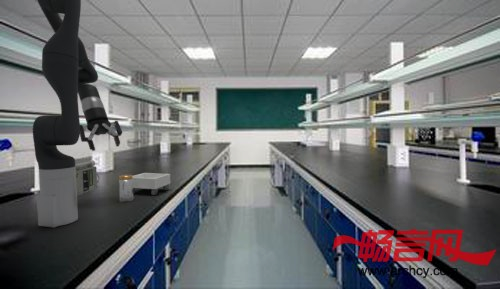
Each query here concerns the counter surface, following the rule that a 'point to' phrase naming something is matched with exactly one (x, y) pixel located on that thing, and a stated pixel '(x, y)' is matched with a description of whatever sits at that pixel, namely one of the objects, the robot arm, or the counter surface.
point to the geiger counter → (86, 177)
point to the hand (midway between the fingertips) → (106, 147)
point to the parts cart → (151, 181)
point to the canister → (126, 188)
